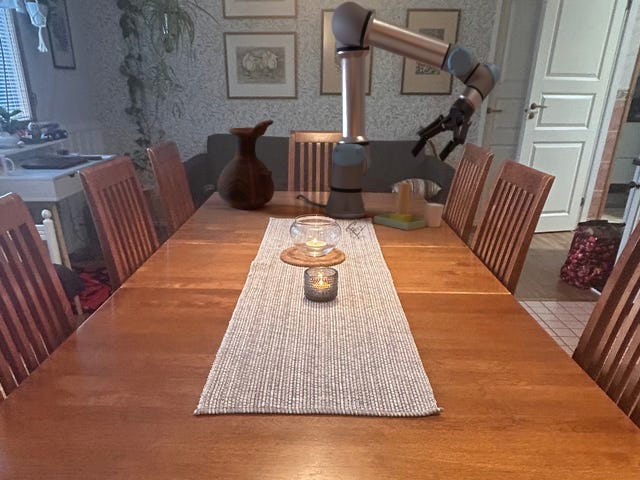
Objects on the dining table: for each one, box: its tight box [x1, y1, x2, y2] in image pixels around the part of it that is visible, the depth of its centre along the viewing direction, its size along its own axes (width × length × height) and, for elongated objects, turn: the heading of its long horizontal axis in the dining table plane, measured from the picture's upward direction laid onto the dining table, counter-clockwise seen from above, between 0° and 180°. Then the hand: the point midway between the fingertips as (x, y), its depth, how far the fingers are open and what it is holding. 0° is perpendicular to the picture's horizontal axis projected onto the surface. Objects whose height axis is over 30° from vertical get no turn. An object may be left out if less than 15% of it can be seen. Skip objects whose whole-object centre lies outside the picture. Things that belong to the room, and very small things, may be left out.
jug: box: [216, 119, 276, 210], centre depth 222 cm, size 22×22×30 cm
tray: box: [373, 213, 427, 231], centre depth 210 cm, size 15×10×2 cm
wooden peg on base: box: [389, 182, 413, 223], centre depth 209 cm, size 6×5×12 cm
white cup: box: [423, 202, 445, 228], centre depth 210 cm, size 7×7×7 cm
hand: (426, 156), depth 203 cm, fingers open, 13 cm apart
